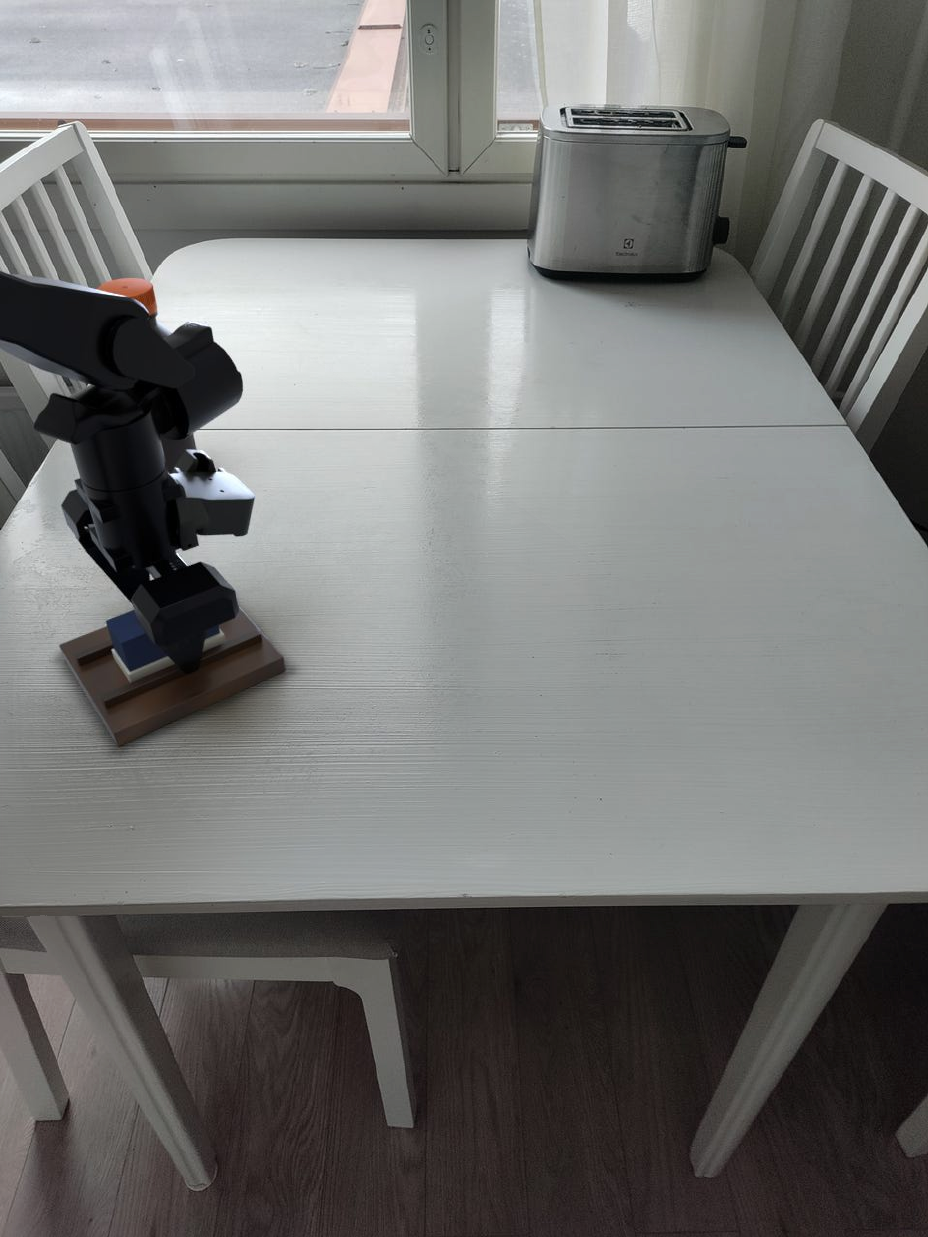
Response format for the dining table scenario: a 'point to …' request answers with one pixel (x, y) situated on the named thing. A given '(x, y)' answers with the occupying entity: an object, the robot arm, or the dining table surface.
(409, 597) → the dining table surface
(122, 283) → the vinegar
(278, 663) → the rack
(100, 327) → the robot arm
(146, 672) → the stepped navy block
